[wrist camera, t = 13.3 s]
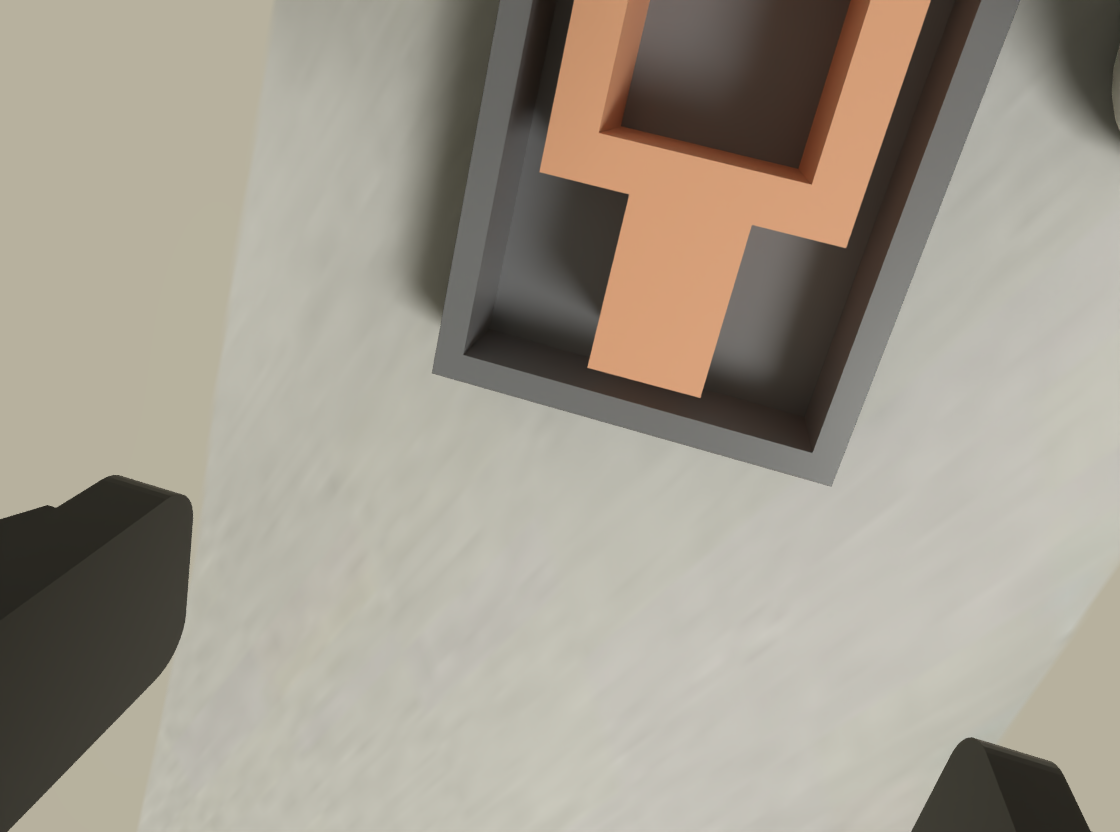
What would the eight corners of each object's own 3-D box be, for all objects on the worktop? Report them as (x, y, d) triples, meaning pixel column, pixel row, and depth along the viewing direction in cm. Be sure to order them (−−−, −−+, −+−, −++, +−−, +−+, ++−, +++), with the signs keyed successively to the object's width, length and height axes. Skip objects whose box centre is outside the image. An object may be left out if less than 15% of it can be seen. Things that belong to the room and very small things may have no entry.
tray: (581, -252, 23) (556, -311, 19) (1041, -154, 22) (1096, -197, 18) (465, 341, 29) (432, 373, 25) (819, 440, 28) (831, 486, 24)
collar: (633, -136, 23) (612, -187, 19) (924, -74, 22) (969, -113, 18) (539, 306, 27) (504, 345, 23) (778, 369, 26) (787, 421, 22)
